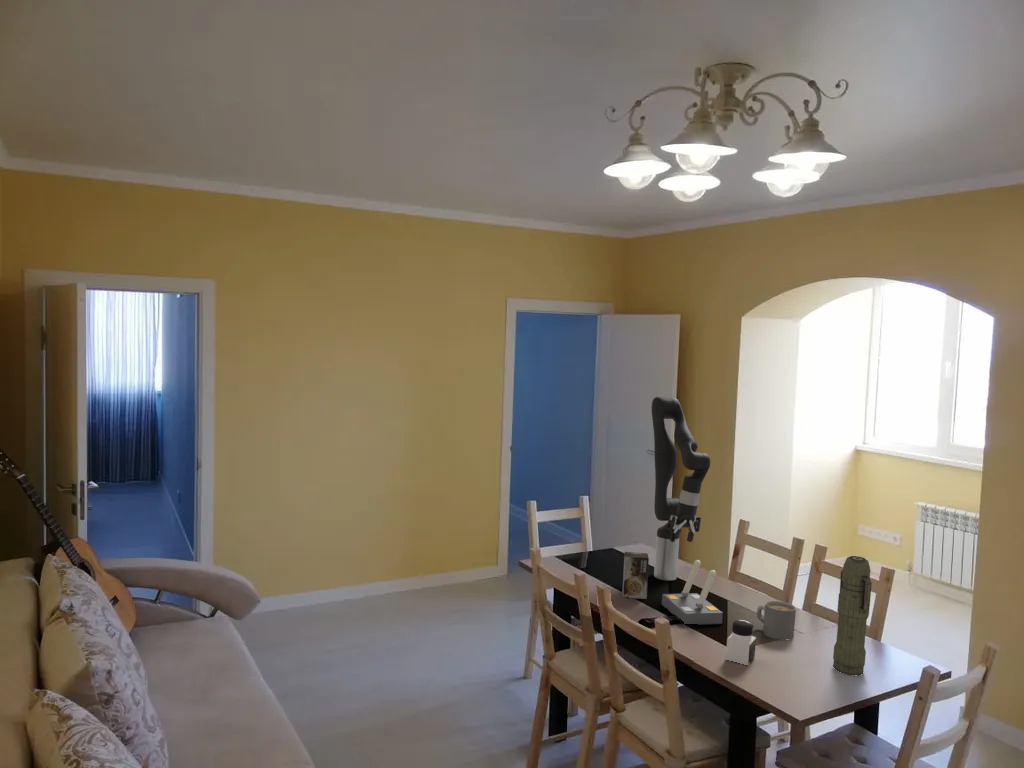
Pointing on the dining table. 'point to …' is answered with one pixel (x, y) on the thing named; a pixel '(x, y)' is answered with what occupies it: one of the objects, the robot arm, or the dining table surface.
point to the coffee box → (635, 575)
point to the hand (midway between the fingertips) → (680, 541)
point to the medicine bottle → (741, 643)
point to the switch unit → (691, 609)
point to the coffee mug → (777, 619)
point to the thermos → (852, 616)
